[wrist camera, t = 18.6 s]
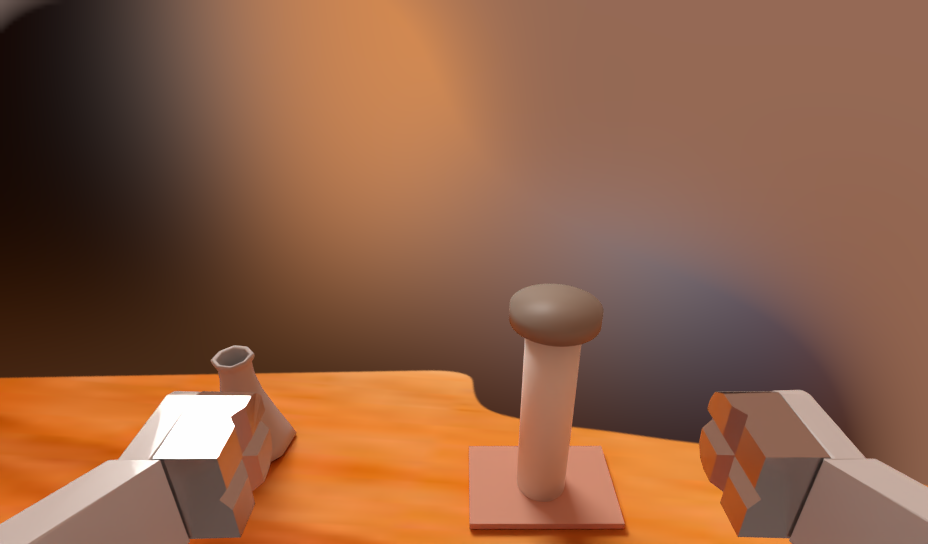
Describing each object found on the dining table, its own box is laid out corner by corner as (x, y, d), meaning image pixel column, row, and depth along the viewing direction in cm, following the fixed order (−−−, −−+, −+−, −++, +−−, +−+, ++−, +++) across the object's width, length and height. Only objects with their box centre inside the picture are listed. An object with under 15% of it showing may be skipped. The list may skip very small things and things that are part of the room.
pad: (469, 529, 41) (469, 523, 41) (468, 451, 48) (468, 446, 48) (623, 528, 41) (624, 523, 41) (600, 450, 48) (601, 446, 48)
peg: (504, 514, 42) (513, 331, 34) (500, 452, 47) (506, 283, 40) (586, 514, 42) (613, 331, 34) (571, 453, 47) (592, 283, 40)
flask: (310, 432, 51) (295, 345, 46) (251, 486, 45) (226, 394, 40) (256, 407, 54) (237, 324, 49) (194, 456, 48) (165, 367, 44)
